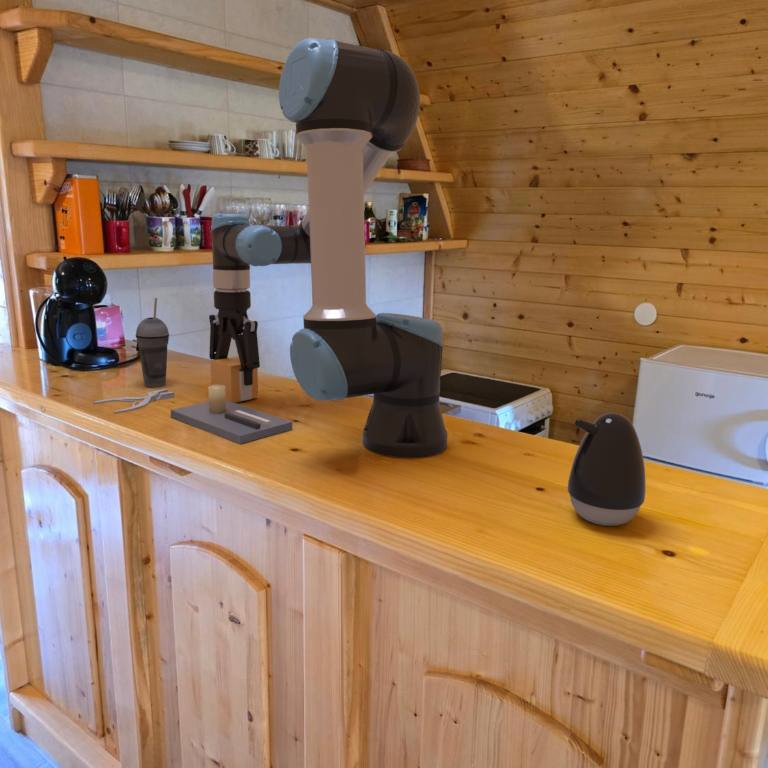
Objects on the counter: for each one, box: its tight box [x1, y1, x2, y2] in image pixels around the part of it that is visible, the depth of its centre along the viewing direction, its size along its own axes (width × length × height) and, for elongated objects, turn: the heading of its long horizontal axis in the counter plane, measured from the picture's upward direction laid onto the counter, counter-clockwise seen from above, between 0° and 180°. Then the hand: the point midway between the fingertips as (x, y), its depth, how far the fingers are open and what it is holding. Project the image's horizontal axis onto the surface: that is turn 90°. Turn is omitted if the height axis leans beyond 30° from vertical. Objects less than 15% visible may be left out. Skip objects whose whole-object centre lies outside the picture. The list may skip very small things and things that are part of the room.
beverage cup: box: [135, 297, 170, 388], centre depth 156 cm, size 7×7×20 cm
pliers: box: [93, 388, 175, 415], centre depth 145 cm, size 10×2×15 cm
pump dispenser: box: [567, 412, 647, 527], centre depth 94 cm, size 10×10×15 cm
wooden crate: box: [209, 356, 259, 403], centre depth 149 cm, size 7×7×8 cm
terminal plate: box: [170, 385, 293, 445], centre depth 132 cm, size 22×12×6 cm, turn 49°
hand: (234, 395), depth 150 cm, fingers closed on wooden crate, 7 cm apart
